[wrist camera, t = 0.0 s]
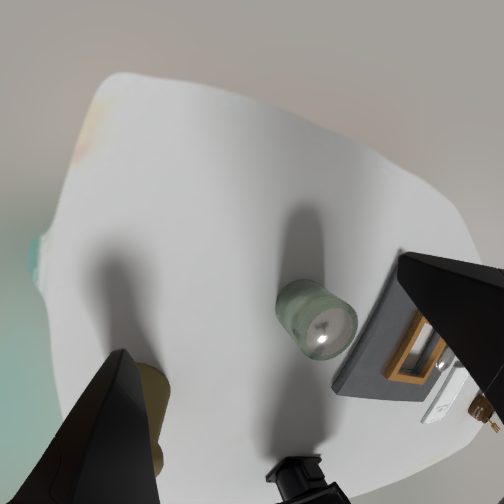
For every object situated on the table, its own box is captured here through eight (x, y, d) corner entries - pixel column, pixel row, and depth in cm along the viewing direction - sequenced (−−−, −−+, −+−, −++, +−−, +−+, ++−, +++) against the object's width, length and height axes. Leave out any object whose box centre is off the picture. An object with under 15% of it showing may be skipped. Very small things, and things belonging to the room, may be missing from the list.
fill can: (309, 335, 26) (338, 365, 20) (266, 320, 25) (288, 353, 19) (332, 290, 26) (368, 312, 20) (290, 271, 24) (320, 292, 19)
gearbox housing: (417, 397, 33) (426, 404, 31) (331, 387, 28) (340, 399, 26) (465, 309, 32) (476, 314, 30) (397, 263, 27) (412, 268, 25)
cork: (139, 352, 23) (118, 437, 12) (183, 391, 24) (187, 478, 14) (101, 380, 22) (73, 459, 12) (143, 415, 24) (135, 496, 13)
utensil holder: (483, 389, 43) (512, 409, 31) (477, 404, 44) (504, 424, 32) (470, 402, 42) (500, 424, 30) (464, 417, 43) (492, 438, 32)
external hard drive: (468, 363, 37) (438, 415, 38) (451, 364, 35) (418, 420, 36) (473, 366, 36) (443, 418, 37) (457, 368, 34) (423, 424, 35)
